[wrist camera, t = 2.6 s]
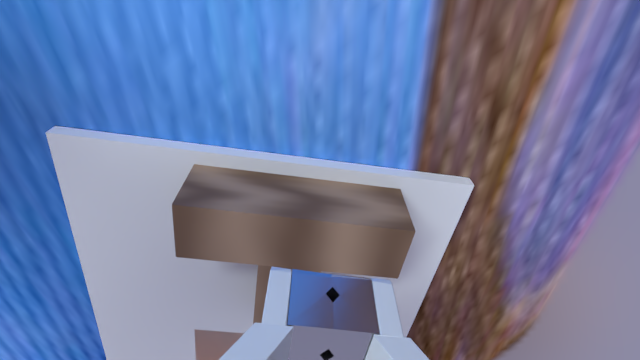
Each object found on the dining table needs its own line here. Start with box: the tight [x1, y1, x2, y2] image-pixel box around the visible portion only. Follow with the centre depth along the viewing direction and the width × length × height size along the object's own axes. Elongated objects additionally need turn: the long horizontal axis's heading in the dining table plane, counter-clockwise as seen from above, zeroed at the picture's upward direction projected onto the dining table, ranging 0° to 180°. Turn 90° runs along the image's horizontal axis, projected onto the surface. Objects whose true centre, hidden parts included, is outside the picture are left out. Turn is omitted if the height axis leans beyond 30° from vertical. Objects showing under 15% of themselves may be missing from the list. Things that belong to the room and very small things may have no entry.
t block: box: [172, 164, 416, 324], centre depth 27 cm, size 14×14×4 cm
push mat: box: [46, 126, 474, 360], centre depth 34 cm, size 28×38×1 cm
